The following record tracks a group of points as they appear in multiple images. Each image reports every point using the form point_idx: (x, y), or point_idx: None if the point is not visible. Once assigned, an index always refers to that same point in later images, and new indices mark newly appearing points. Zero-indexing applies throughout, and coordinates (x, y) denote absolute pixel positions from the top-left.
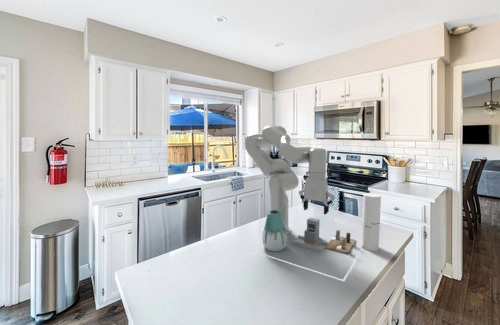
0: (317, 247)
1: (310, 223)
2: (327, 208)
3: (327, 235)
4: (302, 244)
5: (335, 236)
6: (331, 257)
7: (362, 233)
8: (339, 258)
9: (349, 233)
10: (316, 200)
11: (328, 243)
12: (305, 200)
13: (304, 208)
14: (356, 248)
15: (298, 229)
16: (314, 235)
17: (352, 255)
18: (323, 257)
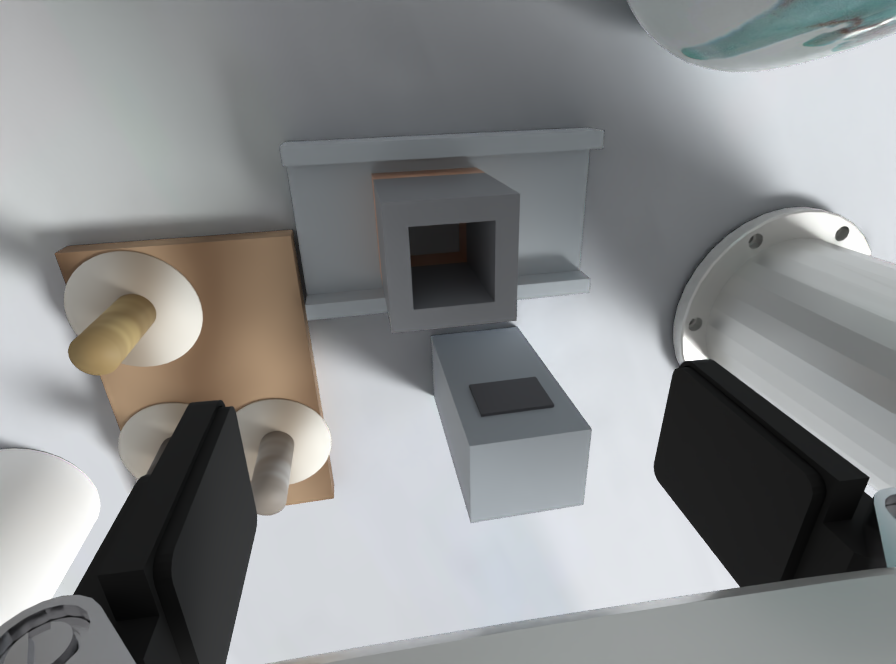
0: (322, 146)
1: (533, 412)
2: (99, 552)
3: (401, 479)
4: (484, 136)
5: (321, 480)
6: (155, 110)
7: (5, 566)
8: (86, 141)
9: None
10: (450, 636)
11: (301, 326)
12: (877, 541)
13: (716, 373)
14: (95, 420)
15: (636, 433)
16: (380, 198)
17: (36, 278)
18: (215, 57)
